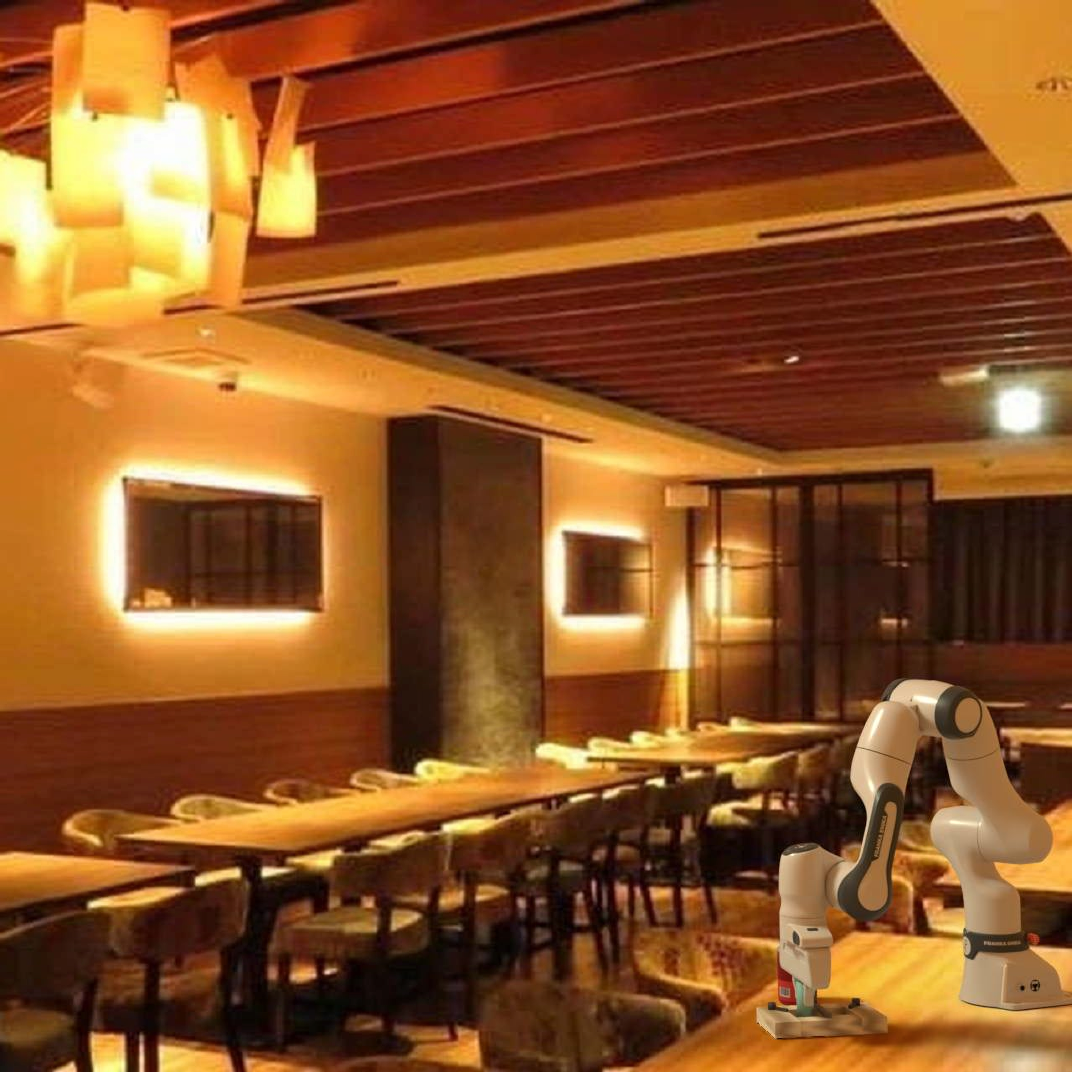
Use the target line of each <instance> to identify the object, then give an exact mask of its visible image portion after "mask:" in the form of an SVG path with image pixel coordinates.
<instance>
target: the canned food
mask: <svg viewBox="0 0 1072 1072" xmlns="http://www.w3.org/2000/svg"><path fill="white" fill-rule="evenodd" d="M776 949H777V951H776V954H777V955H776V958H777V959H776V960H777V962H776V963H777V964H776V965H777V966H776V967H777V968H776V969H777V970H776V971H777V998H778V1001H780V1002H781V1003H780V1002H779V1003H780V1004H782V1003H783V1004H782V1005H785V1004H786V1005H785V1006H789V1005H797V1000H796V998H795V988H794V984H793V980H792V975H791V974H790V973H788V972H787V971H785V970H784V969H783V968H781V965H780V945H779V946H777V947H776ZM815 994H816V995H817V996H818V989H816V991H815Z"/></svg>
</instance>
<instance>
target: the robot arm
mask: <svg viewBox="0 0 1072 1072" xmlns="http://www.w3.org/2000/svg"><path fill="white" fill-rule="evenodd" d="M923 736H925V737H934V738H941V742H942V749H943V752H944V758H945V761H946V762H945V763H946V767H947V771H948V775H949V781H950V784H951V786H952V789H953V790H954V791H955V793H956V794H957V795H959V796H960V797H961V798H962V799H964V800H966V801H967V802H969V803H971V804H972V805H971V806H970V805H958V806H956V805H955V806H949V807H944V808H943V807H942V808H940V809H939V810H938V811H937V812H936V813H935V814H934V816H933V818H932V820H931V822H930V827H929V829H930V830H929V831H930V833H929V835H930V839H931V842H932V843H933V846H934V848H935V849H936V850H937V851H938V852H939V853H940V854H941V855H942V856H943V857H944V858H945V859H946V860H947V861H948V863H949V864H950V865H951V867H952V868H953V870H954V873H955V874H956V876H957V878H958V881H959V883H960V887H961V892H962V899H963V908H964V923H965V924H964V927H963V929H962V933H963V934H962V950H963V956H964V964H963V965H964V967H963V974H962V982H961V987H960V990H959V994H958V998H959V1000H961V1001H963V1002H965V1003H968V1004H969V1003H970V1004H973V1005H978V1006H984V1007H992V1008H998V1009H999V1008H1000V1009H1004V1010H1010V1011H1019V1010H1027V1009H1036V1008H1045V1007H1055V1006H1064V1005H1065V1006H1066V1005H1072V994H1071V993H1069V992H1067V991H1065V990H1063V988H1062V985H1061V979H1060V975H1059V973H1058V970H1057V969H1056V968H1055V966H1053V965H1051V964H1050V963H1049V962H1048V961H1047V960H1046V959H1044V958H1043V957H1041V956H1040V954H1039V953H1038V954H1037V953H1036V951H1034V950H1032V949H1031V947H1030V944H1032V945H1034V946H1035V945H1036V946H1037V944H1039V942H1040V937H1039V936H1038V934H1034V933H1033V932H1030V933H1028V932H1026V931H1024V930H1022V924H1021V922H1022V921H1021V920H1022V919H1021V918H1022V917H1021V897H1020V894H1019V892H1018V890H1017V888H1016V887H1015V886H1014V885H1013V884H1012V883H1011V882H1009V881H1008V880H1006V879H1005V878H1004V877H1002V876H1001V874H1000V873H999V871H998V869H997V866H996V865H995V863H1002V864H1009V865H1010V864H1011V865H1019V866H1021V865H1032V864H1039V863H1041V862H1044V860H1045V859H1046V858H1047V857H1048V856H1049V854H1050V853H1051V851H1052V848H1053V844H1054V835H1053V831H1052V828H1051V826H1050V824H1049V822H1048V820H1047V819H1046V818H1045V817H1044V816H1043V815H1041V814H1040V813H1037V812H1036V811H1035V810H1033V809H1032V808H1031V807H1030V806H1029V805H1028V804H1027V803H1026V802H1025V801H1024V800H1023V799H1022V797H1021V796H1020V795H1019V794H1018V792H1017V791H1016V789H1015V788H1014V786H1013V784H1012V783H1011V781H1010V779H1009V777H1008V773H1007V770H1006V767H1005V764H1004V759H1003V754H1002V751H1001V747H1000V746H1001V745H1000V742H999V736H998V734H997V730H996V728H995V724H994V721H993V719H992V717H991V714H990V711H989V709H988V707H987V705H986V704H985V702H984V701H983V700H981V699H980V698H979V697H978V695H976V694H975V693H974V692H973V691H971V690H970V689H968V688H966V687H964V686H960V685H953V684H950V683H948V682H943V681H939V680H934V679H933V680H928V679H915V678H913V677H904V678H898V679H894V680H893V681H892V682H890V683H889V684H888V685H887V687H886V688H885V690H884V691H883V693H882V695H881V699H880V702H879V703H878V704H876V705H875V706H874V708H872V711H871V713H870V715H868V718H867V720H866V722H865V725H864V727H863V729H862V730H861V734H860V736H859V739H858V743H857V744H856V748H855V750H854V751H855V752H854V754H853V757H852V761H851V767H850V777H849V778H850V782H851V785H852V787H853V790H854V791H855V793H857V795H858V796H859V798H860V799H861V801H862V802H863V804H864V807H865V811H866V824H865V825H866V826H865V828H864V829H865V830H864V833H863V839H862V844H861V848H860V852H859V855H858V856H859V857H858V859H857V861H853V860H850V859H847V858H844V857H841V856H838V855H835V854H834V853H832V852H829V851H828V850H826V849H824V848H823V847H821V846H820V844H817V843H815V842H807V843H804V842H803V843H796V844H793V845H791V846H789V847H787V848H786V849H784V850H783V852H782V854H781V856H780V861H779V867H778V868H779V869H778V893H779V897H780V901H781V903H780V907H779V913H778V915H779V946H780V965H781V968H783V969H784V970H785V971H787V972H788V973H790V974H791V975H792V980H793V984H794V988H795V998H796V981H801V982H802V983H803V988H804V995H802V1000H803V1001H802V1003H803V1004H804V1005H805V1006H813V1005H814V994H815V991H816V989H817V990H828V988H829V987H830V984H831V975H832V952H831V948H830V947H833V946H834V936H833V934H832V932H831V931H830V930H829V927H828V923H827V910H828V909H831V908H833V909H836V910H838V911H841V912H843V913H845V914H846V915H848V916H850V918H852V919H854V920H855V921H859V922H862V923H863V922H865V923H867V922H873V921H876V920H878V919H879V918H881V917H882V916H883V915H885V913H886V912H887V911H888V909H889V908H890V906H891V904H892V900H893V895H894V894H893V893H894V892H893V873H892V872H893V864H894V861H895V860H894V859H895V855H896V851H897V846H898V843H899V836H900V832H901V826H902V821H903V816H904V808H905V794H906V788H907V785H908V784H907V783H908V778H909V775H910V773H911V772H910V771H911V768H912V764H913V761H914V758H915V753H916V749H917V744H918V741H919V740H920V739H921V738H922V737H923Z"/></svg>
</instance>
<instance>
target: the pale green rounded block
mask: <svg viewBox="0 0 1072 1072" xmlns="http://www.w3.org/2000/svg"><path fill="white" fill-rule="evenodd" d="M802 995H804V988H803V983H802V982H801V981H796V1000H797V1017H813V1007H812V1006H805V1005H804V1004H803V1003H802V1001H803V1000H802Z"/></svg>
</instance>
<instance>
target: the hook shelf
mask: <svg viewBox="0 0 1072 1072" xmlns="http://www.w3.org/2000/svg"><path fill="white" fill-rule="evenodd" d="M812 1007H813V1017H797V1005H793V1006H789V1005H779V1006H778V1005H777V1002H775V1001H769V1002H767V1006H758V1007H756V1023H757V1022H758V1023H759V1024H760V1025H759V1024H758V1025H759V1027H761V1026H762V1027H763V1028H764V1029H765V1030H766V1032H767V1031H768V1032H769V1033H770V1034H771V1035H770V1034H769V1033H768V1032H767V1033H768V1034H769V1035H770V1036H771V1037H772V1036H773V1037H774V1038H773V1037H772V1038H773V1039H774V1040H778V1039H777V1038H787V1039H797V1038H796V1037H806V1038H813V1037H812V1036H825V1037H838V1036H839V1037H842V1036H859V1035H878V1034H879V1035H880V1034H888V1032H889V1031H888V1028H889V1027H888V1025H889V1024H888V1016H887V1015H885V1014H884V1013H882V1012H880V1011H879V1010H877V1009H876V1008H875V1007H873V1006H872V1005H870V1004H868V1003H867V1002H865V1001H861V998H860V997H852V998H851V1002H838V1003H837V1002H836V1003H818V994H817V995H816V994H814V1005H813V1006H812ZM762 1027H761V1028H762ZM763 1028H762V1029H763ZM764 1029H763V1030H764ZM765 1030H764V1031H765ZM810 1036H811V1037H810Z"/></svg>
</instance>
